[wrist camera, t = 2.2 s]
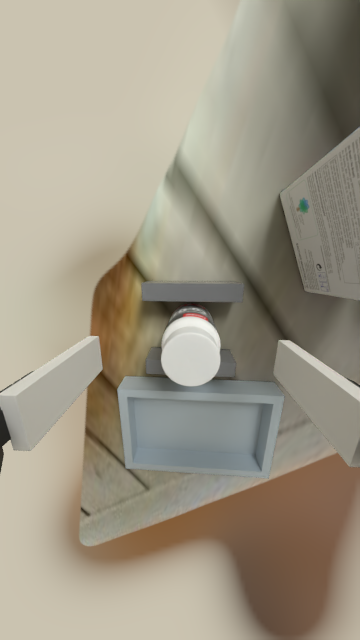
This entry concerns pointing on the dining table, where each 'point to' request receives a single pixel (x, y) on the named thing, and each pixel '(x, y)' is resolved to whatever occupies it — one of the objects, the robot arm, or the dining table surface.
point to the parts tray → (200, 425)
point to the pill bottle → (190, 346)
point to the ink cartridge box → (328, 221)
